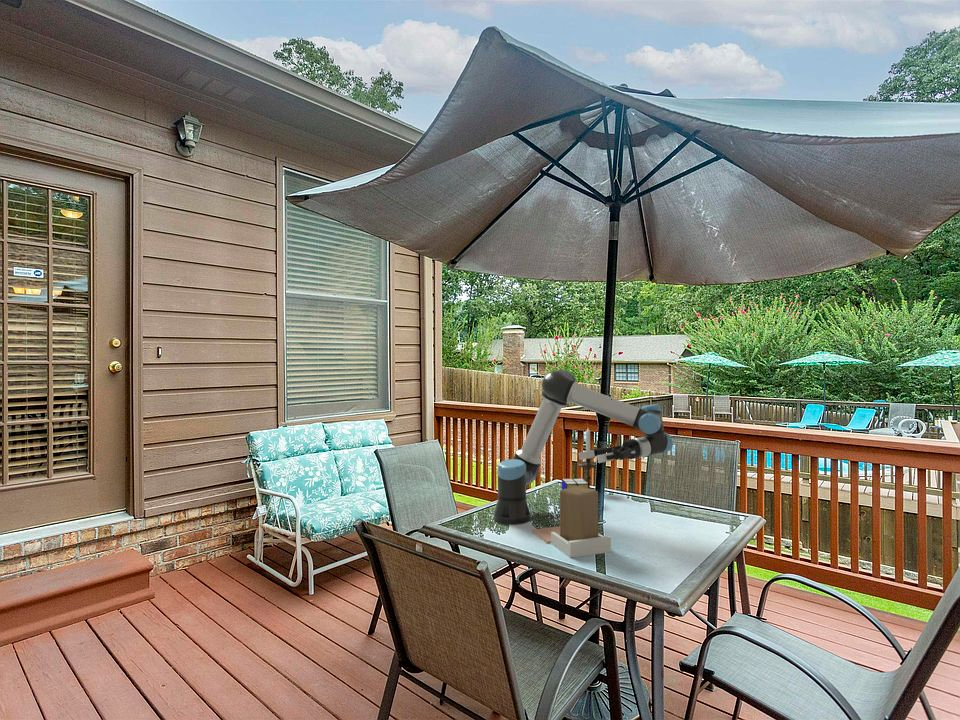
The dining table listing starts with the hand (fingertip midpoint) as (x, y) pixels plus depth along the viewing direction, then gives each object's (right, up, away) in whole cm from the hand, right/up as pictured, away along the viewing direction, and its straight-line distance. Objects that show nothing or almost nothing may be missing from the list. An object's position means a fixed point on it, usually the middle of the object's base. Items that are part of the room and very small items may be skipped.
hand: (588, 457), depth 200 cm
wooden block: (-6, -29, -15) cm, 33 cm away
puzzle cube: (+2, -29, +42) cm, 51 cm away
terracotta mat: (-11, -28, -1) cm, 30 cm away
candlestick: (+12, -28, +60) cm, 68 cm away
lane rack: (-6, -28, -15) cm, 33 cm away
